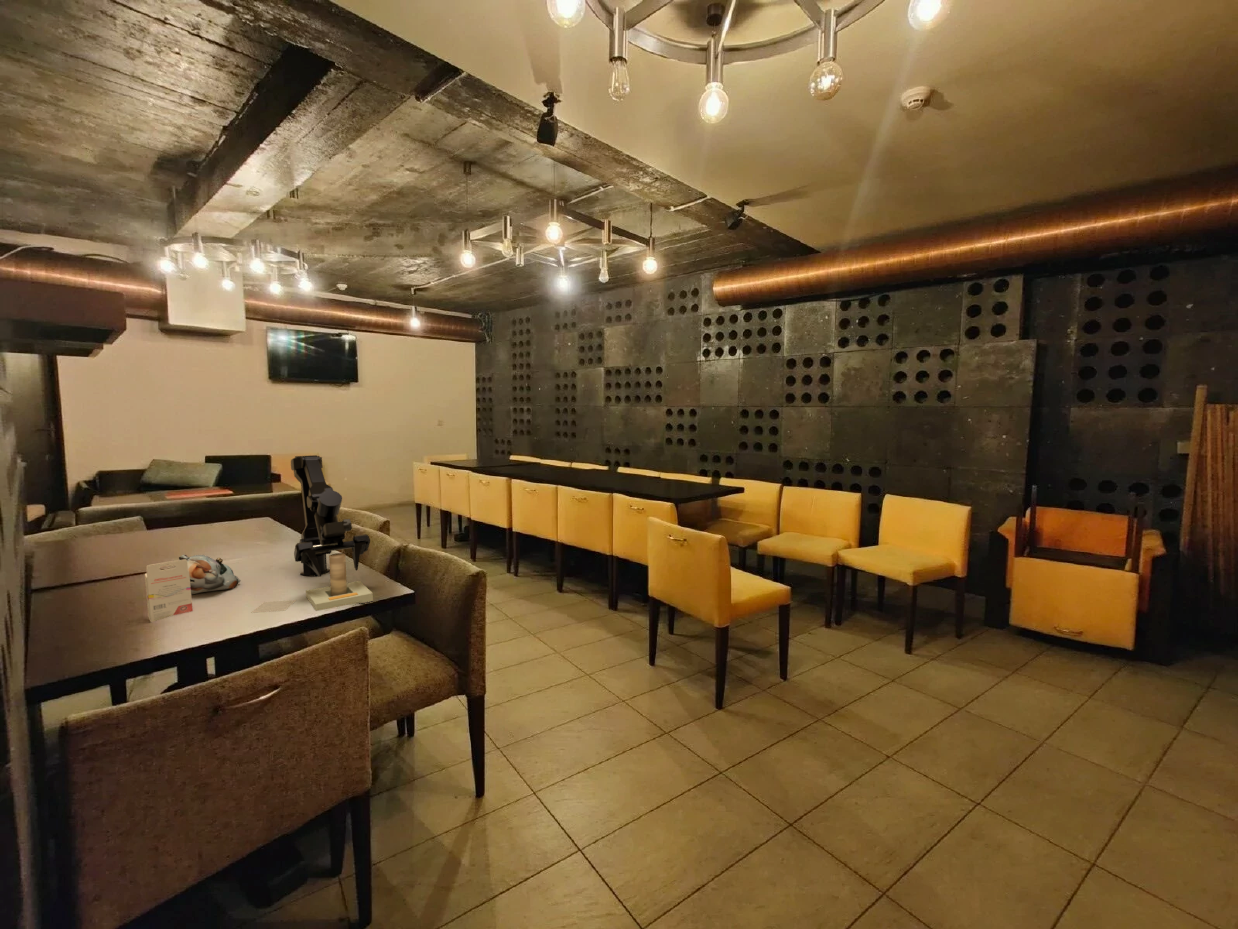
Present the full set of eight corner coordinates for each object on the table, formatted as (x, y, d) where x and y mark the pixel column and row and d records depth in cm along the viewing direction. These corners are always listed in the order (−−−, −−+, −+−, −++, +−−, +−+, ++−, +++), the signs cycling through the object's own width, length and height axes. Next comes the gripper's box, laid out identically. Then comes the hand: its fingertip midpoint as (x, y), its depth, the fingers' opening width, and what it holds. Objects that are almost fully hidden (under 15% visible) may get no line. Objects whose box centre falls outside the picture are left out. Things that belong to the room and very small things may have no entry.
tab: (264, 605, 147) (264, 602, 146) (296, 602, 148) (296, 600, 148) (251, 615, 139) (250, 612, 139) (285, 613, 141) (285, 610, 140)
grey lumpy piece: (249, 585, 163) (236, 551, 155) (209, 611, 154) (192, 577, 146) (217, 566, 168) (202, 532, 160) (175, 591, 159) (158, 556, 151)
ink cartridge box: (189, 609, 143) (185, 555, 142) (193, 614, 140) (189, 558, 138) (147, 618, 137) (142, 561, 136) (149, 623, 134) (145, 565, 132)
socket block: (306, 599, 151) (305, 589, 151) (359, 589, 160) (359, 580, 160) (316, 613, 140) (315, 603, 140) (373, 602, 149) (372, 592, 149)
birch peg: (333, 598, 152) (331, 553, 150) (348, 597, 153) (346, 552, 151) (329, 603, 148) (327, 557, 147) (345, 602, 149) (343, 556, 148)
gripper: (293, 514, 145) (303, 563, 138) (367, 507, 157) (379, 551, 150) (290, 537, 152) (299, 585, 145) (361, 528, 164) (372, 572, 156)
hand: (338, 572), depth 149 cm, fingers open, 9 cm apart
